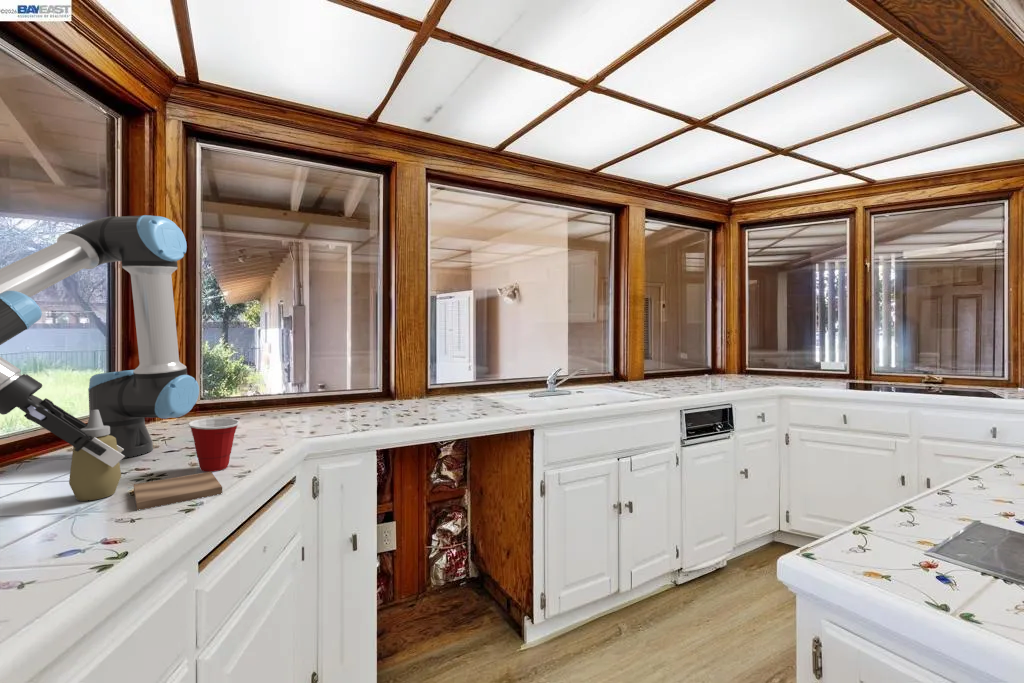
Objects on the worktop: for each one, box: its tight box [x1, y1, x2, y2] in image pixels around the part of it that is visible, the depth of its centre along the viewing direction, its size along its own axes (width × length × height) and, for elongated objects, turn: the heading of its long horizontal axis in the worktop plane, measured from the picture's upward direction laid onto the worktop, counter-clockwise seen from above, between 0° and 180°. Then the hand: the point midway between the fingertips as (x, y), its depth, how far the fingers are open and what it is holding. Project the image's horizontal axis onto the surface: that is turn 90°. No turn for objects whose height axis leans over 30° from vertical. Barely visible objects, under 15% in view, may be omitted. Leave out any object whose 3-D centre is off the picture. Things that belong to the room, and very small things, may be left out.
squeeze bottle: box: [68, 410, 122, 502], centre depth 95 cm, size 8×8×18 cm
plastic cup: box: [188, 417, 241, 473], centre depth 115 cm, size 11×11×12 cm
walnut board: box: [133, 471, 223, 511], centre depth 98 cm, size 14×14×2 cm
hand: (118, 457), depth 97 cm, fingers closed on squeeze bottle, 6 cm apart
